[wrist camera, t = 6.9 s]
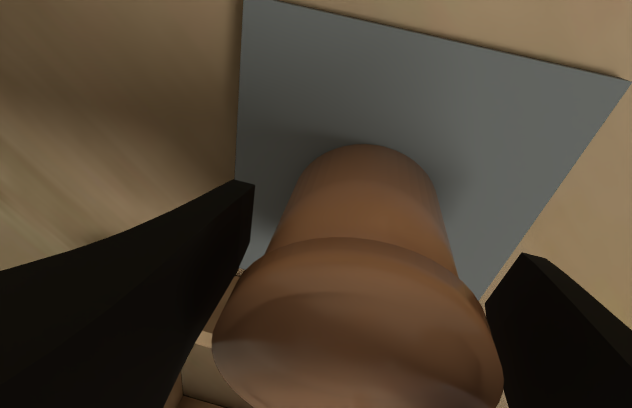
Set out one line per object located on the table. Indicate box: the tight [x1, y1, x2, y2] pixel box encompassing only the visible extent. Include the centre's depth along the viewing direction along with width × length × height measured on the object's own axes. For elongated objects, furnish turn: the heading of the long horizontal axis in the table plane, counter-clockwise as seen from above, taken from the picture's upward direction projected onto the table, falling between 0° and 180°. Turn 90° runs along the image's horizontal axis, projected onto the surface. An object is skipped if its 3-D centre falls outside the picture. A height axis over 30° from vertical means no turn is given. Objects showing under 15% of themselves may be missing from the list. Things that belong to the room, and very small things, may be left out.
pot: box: [211, 144, 504, 408], centre depth 9 cm, size 6×6×6 cm
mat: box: [235, 0, 632, 301], centre depth 11 cm, size 10×10×1 cm
